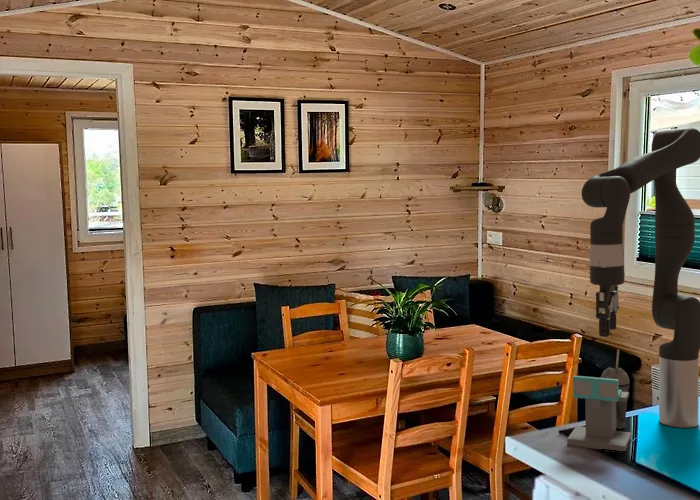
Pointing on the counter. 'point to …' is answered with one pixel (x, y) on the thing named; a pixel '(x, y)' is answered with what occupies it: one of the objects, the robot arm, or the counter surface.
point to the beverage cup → (622, 385)
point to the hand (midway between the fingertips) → (607, 332)
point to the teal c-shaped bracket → (596, 388)
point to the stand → (600, 427)
